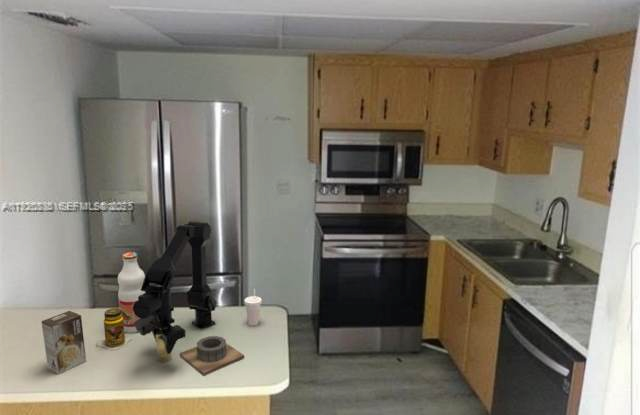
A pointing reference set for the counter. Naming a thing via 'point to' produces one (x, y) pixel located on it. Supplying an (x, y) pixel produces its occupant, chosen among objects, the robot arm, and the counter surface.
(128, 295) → the fruit juice
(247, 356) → the counter surface
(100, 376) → the counter surface
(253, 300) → the smoothie
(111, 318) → the condiment
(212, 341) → the ring socket
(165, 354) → the brass pin
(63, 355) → the coffee box
